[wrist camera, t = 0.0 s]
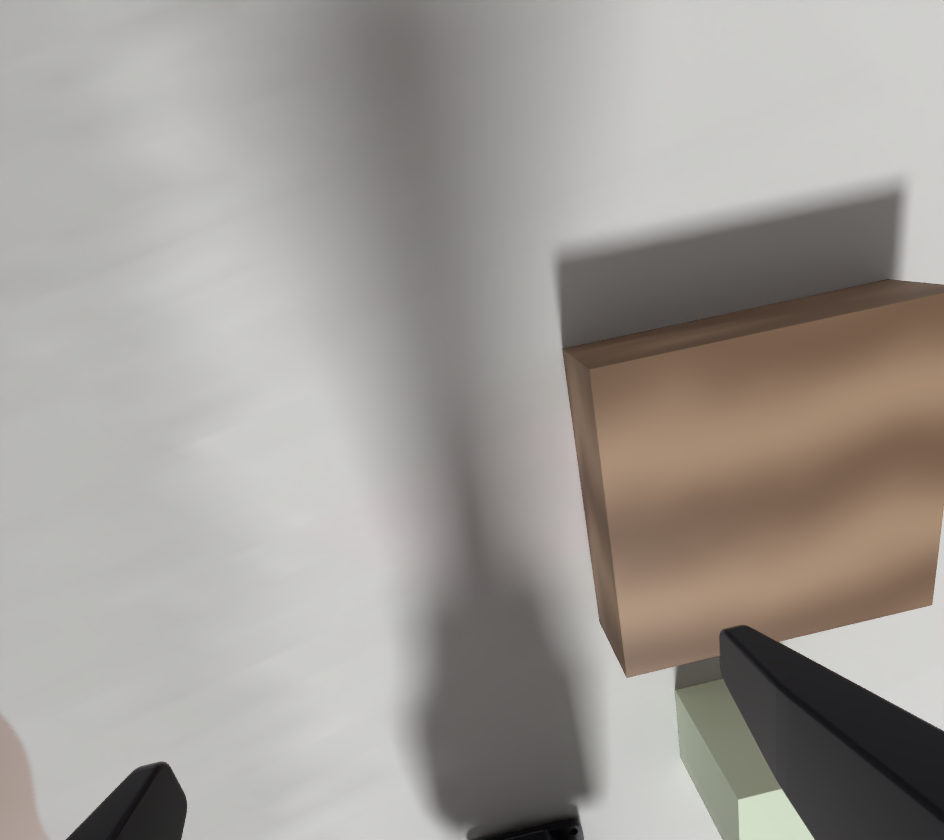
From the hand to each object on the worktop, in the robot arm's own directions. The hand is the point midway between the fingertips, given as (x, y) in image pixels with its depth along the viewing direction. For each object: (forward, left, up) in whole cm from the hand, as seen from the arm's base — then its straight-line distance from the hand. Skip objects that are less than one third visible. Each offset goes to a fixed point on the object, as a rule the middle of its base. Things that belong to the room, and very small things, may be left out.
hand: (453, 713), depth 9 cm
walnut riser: (-5, -13, -15) cm, 21 cm away
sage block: (-20, -12, -15) cm, 28 cm away
